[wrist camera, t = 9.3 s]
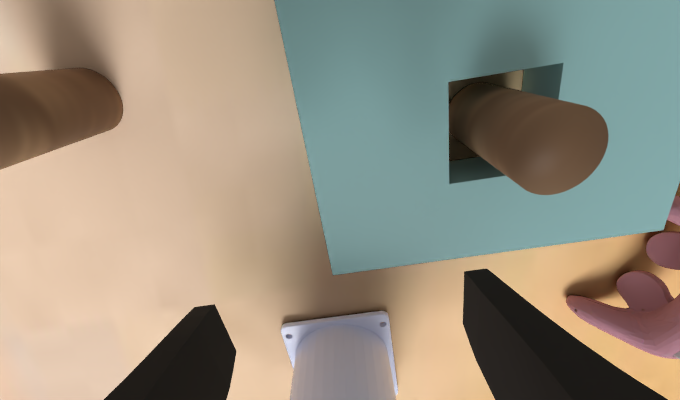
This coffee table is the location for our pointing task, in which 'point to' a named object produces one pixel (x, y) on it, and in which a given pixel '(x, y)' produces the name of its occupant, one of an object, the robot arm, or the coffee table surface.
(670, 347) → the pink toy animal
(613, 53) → the block
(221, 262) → the coffee table surface
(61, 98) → the tall pin
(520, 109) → the short pin
